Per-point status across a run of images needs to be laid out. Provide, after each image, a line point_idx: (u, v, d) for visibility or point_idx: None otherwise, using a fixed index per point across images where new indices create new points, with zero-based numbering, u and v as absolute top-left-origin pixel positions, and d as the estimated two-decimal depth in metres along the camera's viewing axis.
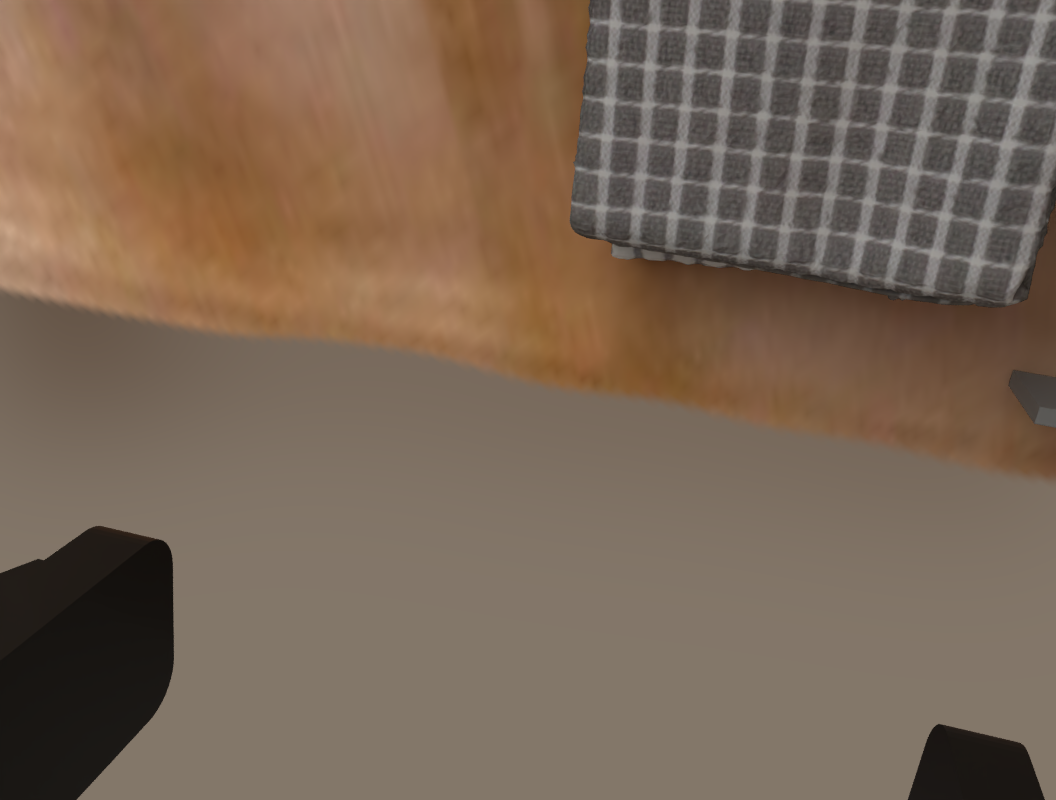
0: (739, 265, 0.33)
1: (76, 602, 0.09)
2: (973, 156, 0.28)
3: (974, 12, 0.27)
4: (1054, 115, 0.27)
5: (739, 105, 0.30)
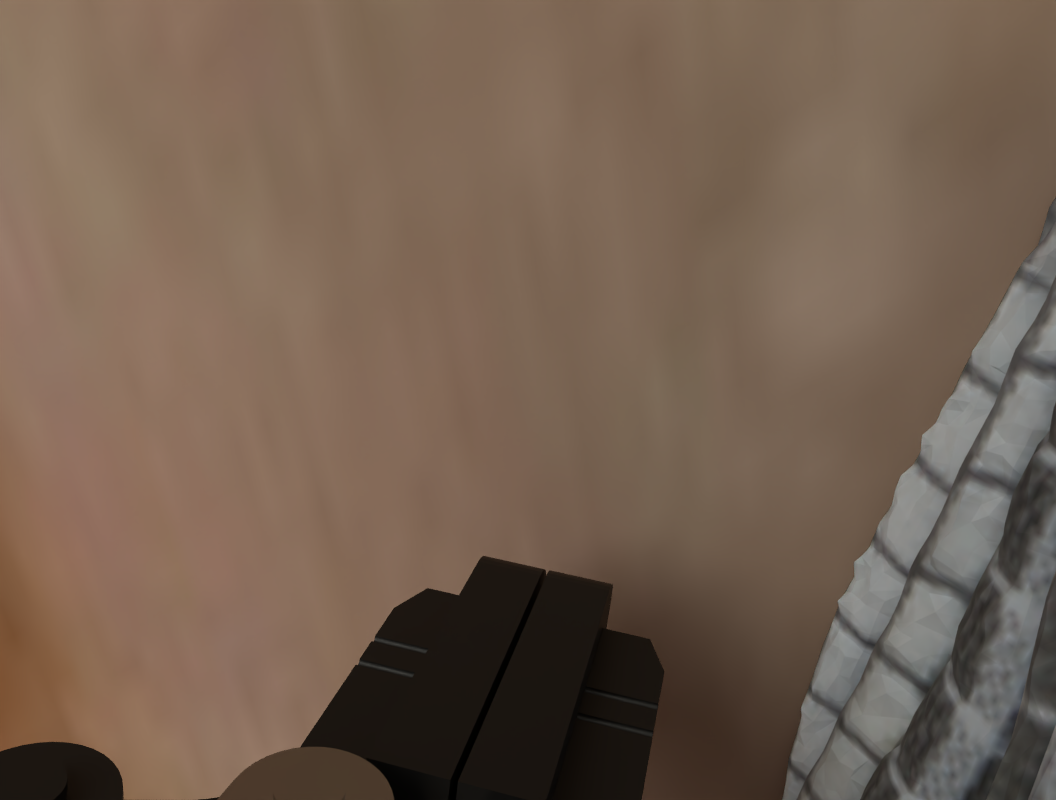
0: None
1: (513, 633, 0.10)
2: None
3: None
4: None
5: None
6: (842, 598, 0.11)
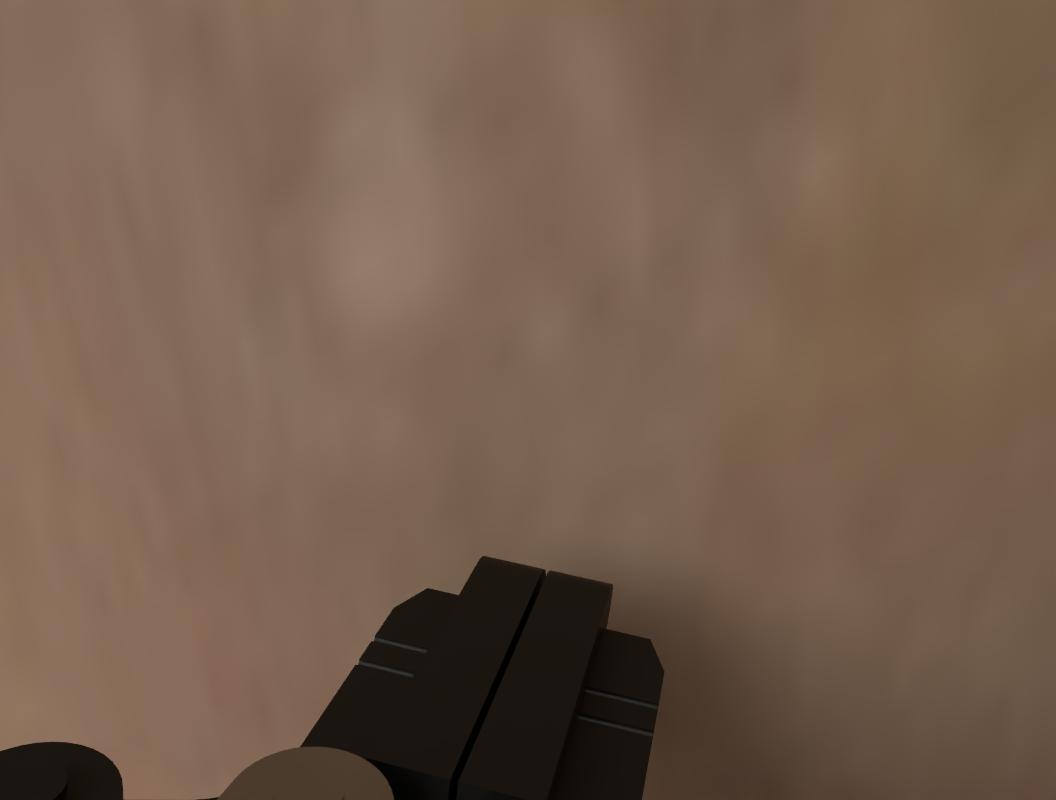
0: None
1: (513, 633, 0.10)
2: None
3: None
4: None
5: None
6: None
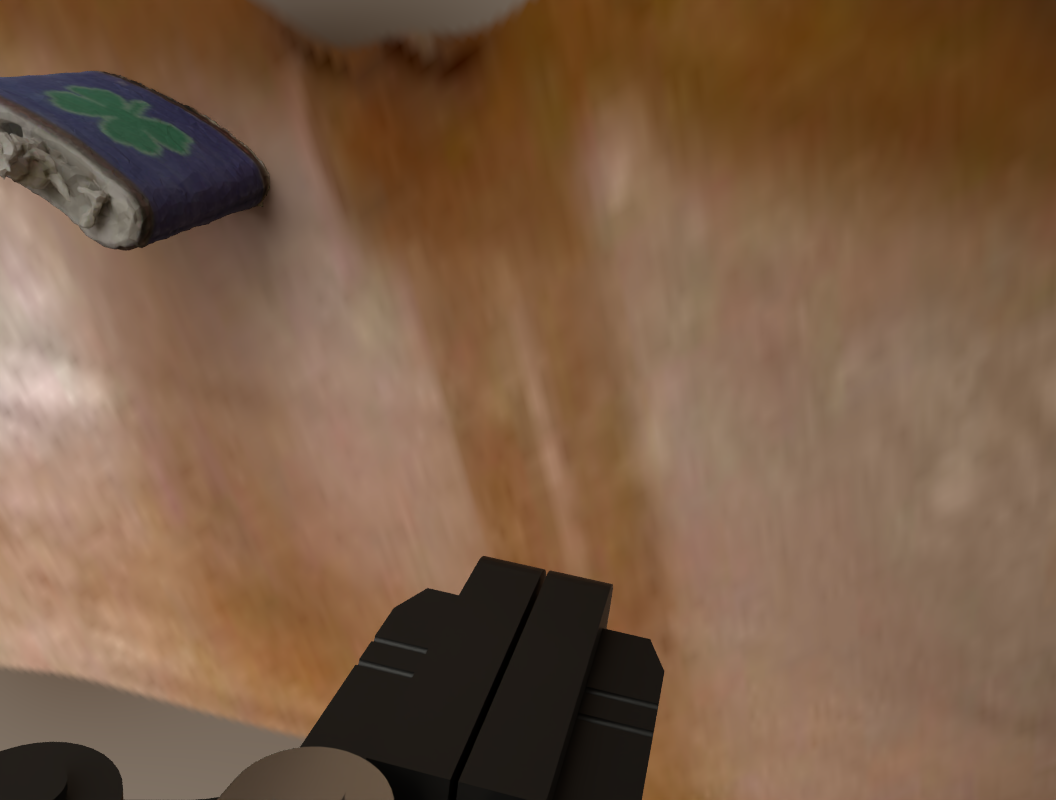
0: None
1: (513, 633, 0.10)
2: None
3: None
4: None
5: None
6: None
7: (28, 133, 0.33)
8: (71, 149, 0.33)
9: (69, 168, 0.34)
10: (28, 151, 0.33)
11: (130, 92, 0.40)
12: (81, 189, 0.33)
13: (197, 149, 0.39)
